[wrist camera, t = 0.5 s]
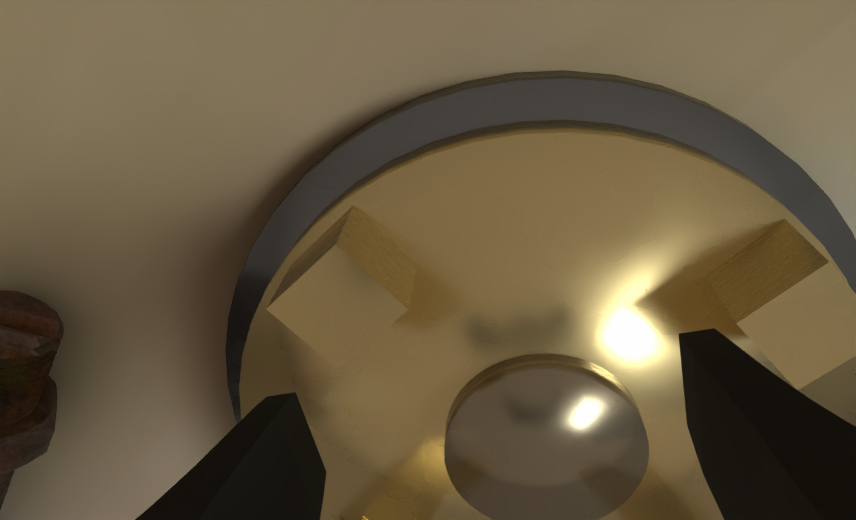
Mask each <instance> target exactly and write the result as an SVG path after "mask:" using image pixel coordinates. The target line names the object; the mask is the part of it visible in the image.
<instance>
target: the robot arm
mask: <svg viewBox="0 0 856 520" xmlns="http://www.w3.org/2000/svg"><path fill="white" fill-rule="evenodd" d="M678 335H679V346H680V356H681V367H682V377H683V388H684V398H685V409H686V419H687V426H688V429H689V433H690V436H691V439H692V442H693V445H694V448H695V451H696V454H697V457H698V460H699V463H700V466H701V469H702V472H703V475H704V477H705V479H706V482H707V484H708V486H709V488H710V490H711V492H712V495H713V497H714V499H715V501H716V503H717V505H718V507H719V510H720V512H721V514H722V516H723V518H724V520H856V426H854V425H852V424H850V423H849V422H847V421H845V420H844V419H842V418H840V417H839V416H837V415H836V414H834V413H832V412H831V411H829V410H827V409H826V408H824V407H822V406H821V405H819V404H818V403H816V402H815V401H813V400H811V399H810V398H808V397H807V396H805V395H804V394H803V393H801V392H800V391H798V390H797V389H795V388H794V387H793V386H791V385H790V384H788V383H787V382H785V381H784V380H782V379H781V378H780V377H778V376H777V375H775V374H774V373H773V372H771V371H770V370H769V369H767V368H766V367H765V366H763V365H762V364H761V363H759V362H758V361H757V360H755V359H754V358H753V357H751V356H750V355H749V354H747V353H746V352H745V351H744V350H742V349H741V348H740V347H738V346H737V345H736V344H735V343H733V342H732V341H731V340H730V339H728V338H727V337H726V336H724V335H723V334H722V333H720V332H719V331H718V330H716V329H715V328H712V329H706V330H699V331H693V332H686V333H680V334H678ZM325 481H326V469H325V467H324V464H323V462H322V459H321V456H320V454H319V451H318V449H317V446H316V443H315V441H314V438H313V436H312V433H311V430H310V428H309V425H308V423H307V420H306V418H305V415H304V412H303V410H302V407H301V405H300V402H299V399H298V397H297V394H296V392H293V393H287V394H280V395H274V396H267V397H266V398H264V399H263V400H262V401H261V402H260V403H259V404H257V405H256V406H255V407H254V408H253V409H252V410H251V411H250V412H249V413H248V414H247V415H246V416H245V417H244V418H243V419H242V420H241V421H240V422H239V423H238V424H237V425H236V426H235V427H234V428H233V429H232V430H231V431H230V432H229V433H228V434H227V435H226V436H225V437H224V438H223V439H222V440H221V441H220V442H219V443H218V444H217V445H216V446H215V447H214V448H213V449H212V450H211V451H210V452H209V453H208V454H207V455H206V456H205V457H204V458H203V459H202V460H201V461H200V462H199V463H198V464H197V465H196V466H194V467H193V468H192V469H191V470H190V471H189V472H188V473H187V474H186V475H185V476H184V477H183V478H182V479H180V480H179V481H178V482H177V483H176V484H175V485H174V486H173V487H172V488H171V489H170V490H168V491H167V492H166V493H165V494H164V495H163V496H162V497H161V498H160V499H159V500H158V501H156V502H155V503H154V504H153V505H152V506H151V507H150V508H149V509H147V510H146V511H145V512H144V513H143V514H141V515H140V516H139V517H138V518H137V519H135V520H320V516H321V510H322V503H323V497H324V489H325Z"/></svg>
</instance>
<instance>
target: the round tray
mask: <svg viewBox="0 0 856 520" xmlns="http://www.w3.org/2000/svg"><path fill="white" fill-rule="evenodd" d="M712 328H715V329H716V330H718V331H719V332H720V333H722V334H723V335H724V336H726V337H727V338H728V339H730V340H731V341H732V342H733V343H735V344H736V345H737V346H738V347H740V348H741V349H742V350H744V351H745V352H746V353H747V354H749V355H750V356H751V357H753V358H754V359H755V360H757V361H758V362H759V363H761V364H762V365H763V366H765V367H766V368H767V369H769V370H770V371H771V372H773V373H774V374H775V375H777V376H778V377H780V378H781V379H782V380H784V381H785V382H787V383H788V384H790V385H791V386H793V387H794V388H795V389H797V390H798V391H800V392H801V393H803V394H804V395H805V396H807V397H808V398H810V399H811V400H813V401H815V402H816V403H818V404H819V405H821V406H822V407H824V408H826V409H827V410H829V411H831V412H832V413H834V414H836V415H837V416H839V417H840V418H842V419H844V420H845V421H847V422H849V423H850V424H852V425H854V426H856V294H855V292H854V291H853V290H852V289H851V288H850V286H849V284H848V281H847V279H846V277H845V276H844V275H843V273H842V272H841V270H840V269H839V267H838V266H837V264H836V263H835V261H834V260H833V259H832V257H831V256H830V254H829V253H828V251H827V250H826V248H825V247H824V245H823V244H822V243H821V242H820V241H819V240H818V239H817V238H816V237H815V236H814V235H813V234H812V233H811V232H810V231H809V230H808V229H807V228H806V227H805V226H804V225H803V224H802V223H801V222H800V221H799V220H798V219H797V218H796V216H795V215H794V214H792V213H791V212H790V211H789V210H788V209H787V208H786V207H785V206H784V205H783V204H782V203H781V202H780V201H779V200H777V199H776V198H775V197H774V196H773V195H772V194H770V193H769V192H768V191H767V190H765V189H764V188H763V187H761V186H760V185H759V184H757V183H756V182H755V181H753V180H752V179H751V178H749V177H748V176H747V175H745V174H744V173H743V172H741V171H740V170H738V169H736V168H734V167H733V166H731V165H729V164H727V163H725V162H723V161H722V160H720V159H718V158H716V157H714V156H712V155H710V154H709V153H707V152H705V151H703V150H701V149H698V148H696V147H693V146H690V145H688V144H685V143H682V142H680V141H677V140H674V139H671V138H669V137H666V136H663V135H661V134H657V133H653V132H648V131H644V130H639V129H635V128H630V127H626V126H622V125H617V124H611V123H599V122H588V121H577V120H544V121H520V122H514V123H508V124H502V125H496V126H490V127H484V128H478V129H473V130H470V131H467V132H463V133H460V134H457V135H453V136H450V137H447V138H443V139H440V140H437V141H434V142H430V143H428V144H426V145H424V146H422V147H419V148H417V149H415V150H413V151H411V152H408V153H406V154H404V155H402V156H399V157H397V158H395V159H393V160H391V161H389V162H387V163H386V164H384V165H383V166H381V167H379V168H378V169H376V170H375V171H373V172H371V173H370V174H368V175H367V176H365V177H363V178H362V179H360V180H359V181H357V182H355V183H354V184H353V185H352V186H350V187H349V188H348V189H347V190H346V191H345V192H343V193H342V194H341V195H340V196H339V197H337V198H336V199H335V200H334V201H333V202H331V203H330V204H329V205H328V206H327V207H325V208H324V209H323V210H322V212H321V213H320V214H319V215H318V216H317V217H316V218H315V219H314V220H313V222H312V223H311V224H310V225H309V226H308V227H307V228H306V229H305V231H304V232H303V233H302V234H301V235H300V236H299V237H298V239H297V240H296V242H295V243H294V245H293V246H292V248H291V250H290V251H289V253H288V254H287V256H286V257H285V259H284V260H283V262H282V263H281V265H280V266H279V268H278V270H277V271H276V273H275V275H274V276H273V278H272V280H271V281H270V283H269V285H268V287H267V288H266V290H265V292H264V295H263V297H262V299H261V301H260V303H259V306H258V308H257V310H256V312H255V315H254V317H253V319H252V321H251V325H250V328H249V332H248V336H247V340H246V343H245V347H244V351H243V354H242V364H241V374H240V384H239V392H240V408H241V420H242V419H243V418H244V417H245V416H246V415H247V414H248V413H249V412H250V411H251V410H252V409H253V408H254V407H255V406H256V405H257V404H259V403H260V402H261V401H262V400H263V399H264V398H266V397H267V396H274V395H280V394H287V393H293V392H296V394H297V397H298V399H299V402H300V405H301V407H302V410H303V412H304V415H305V418H306V420H307V423H308V425H309V428H310V430H311V433H312V436H313V438H314V441H315V443H316V446H317V449H318V451H319V454H320V456H321V459H322V462H323V464H324V467H325V469H326V481H325V489H324V497H323V503H322V510H321V516H320V520H724V518H723V516H722V514H721V512H720V510H719V507H718V505H717V503H716V501H715V499H714V497H713V495H712V492H711V490H710V488H709V486H708V484H707V482H706V479H705V477H704V475H703V472H702V469H701V466H700V463H699V460H698V457H697V454H696V451H695V448H694V445H693V442H692V439H691V436H690V433H689V429H688V426H687V419H686V409H685V398H684V388H683V377H682V367H681V356H680V346H679V335H678V334H680V333H686V332H693V331H699V330H706V329H712Z"/></svg>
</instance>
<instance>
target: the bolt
mask: <svg viewBox="0 0 856 520" xmlns="http://www.w3.org/2000/svg"><path fill="white" fill-rule="evenodd" d="M63 331H64V329H63V324H62V322H61V320H60V318H59V316H58V314H57V313H56V312H55V311H54V310H53V309H51V308H50V307H48V306H47V305H46V304H44V303H43V302H41V301H39V300H37V299H35V298H33V297H31V296H28V295H26V294H22V293H18V292H11V291H0V510H1V506H2V504H3V501H4V498H5V495H6V493H7V489H8V487H9V484H10V481H11V478H12V475H13V473H14V469H17V468H19V467H21V466H23V465H25V464H27V463H29V462H30V461H32V460H34V459H35V458H37V457H39V456H40V455H42V454H44V453H45V452H47V449H48V446H49V444H50V441H51V438H52V436H53V433H54V430H55V421H56V410H57V390H56V384H55V382H54V381H53V380H52V379H51V378H50V377H49V376H48V374H49V371H50V368H51V366H52V362H53V360H54V358H55V354H56V353H57V349H58V347H59V345H60V341H61V339H62V337H63Z"/></svg>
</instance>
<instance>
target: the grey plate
mask: <svg viewBox="0 0 856 520" xmlns="http://www.w3.org/2000/svg"><path fill="white" fill-rule="evenodd" d="M544 120H577V121H588V122H599V123H611V124H617V125H622V126H626V127H630V128H635V129H639V130H644V131H648V132H653V133H657V134H661V135H663V136H666V137H669V138H671V139H674V140H677V141H680V142H682V143H685V144H688V145H690V146H693V147H696V148H698V149H701V150H703V151H705V152H707V153H709V154H710V155H712V156H714V157H716V158H718V159H720V160H722V161H723V162H725V163H727V164H729V165H731V166H733V167H734V168H736V169H738V170H740V171H741V172H743V173H744V174H745V175H747V176H748V177H749V178H751V179H752V180H753V181H755V182H756V183H757V184H759V185H760V186H761V187H763V188H764V189H765V190H767V191H768V192H769V193H770V194H772V195H773V196H774V197H775V198H776V199H777V200H779V201H780V202H781V203H782V204H783V205H784V206H785V207H786V208H787V209H788V210H789V211H790V212H791V213H792V214H794V215H795V216H796V218H797V219H798V220H799V221H800V222H801V223H802V224H803V225H804V226H805V227H806V228H807V229H808V230H809V231H810V232H811V233H812V234H813V235H814V236H815V237H816V238H817V239H818V240H819V241H820V242H821V243H822V244H823V245H824V247H825V248H826V250H827V251H828V253H829V254H830V256H831V257H832V259H833V260H834V261H835V263H836V264H837V266H838V267H839V269H840V270H841V272H842V273H843V275H844V276H845V277H846V279H847V281H848V284H849V286H850V288H851V289H852V290H853V291H854V292H855V294H856V240H855V237H854V235H853V233H852V231H851V230H850V228H849V227H848V225H847V224H846V222H845V221H844V219H843V218H842V216H841V215H840V213H839V212H838V210H837V209H836V207H835V206H834V204H833V203H832V201H831V200H830V198H829V197H828V196H827V195H826V194H825V193H824V191H823V190H822V189H821V188H820V187H819V186H818V185H817V184H816V183H815V182H814V181H813V180H812V179H811V178H810V177H809V175H808V174H807V173H806V172H805V171H804V170H803V169H802V168H801V167H800V166H799V165H798V164H797V163H795V162H794V161H793V160H792V159H790V158H789V157H788V156H786V155H785V154H784V153H783V152H781V151H780V150H779V149H777V148H776V147H775V146H773V145H772V144H771V143H770V142H768V141H767V140H766V139H764V138H763V137H762V136H760V135H759V134H758V133H757V132H755V131H754V130H753V129H751V128H750V127H749V126H747V125H746V124H744V123H742V122H740V121H739V120H737V119H735V118H733V117H731V116H730V115H728V114H726V113H724V112H722V111H721V110H719V109H717V108H715V107H713V106H712V105H710V104H708V103H706V102H704V101H701V100H698V99H696V98H693V97H690V96H688V95H685V94H682V93H680V92H677V91H675V90H672V89H669V88H667V87H664V86H661V85H657V84H652V83H648V82H643V81H639V80H635V79H630V78H626V77H621V76H617V75H610V74H599V73H587V72H576V71H543V72H522V73H511V74H505V75H500V76H494V77H489V78H483V79H478V80H472V81H467V82H463V83H460V84H457V85H454V86H451V87H448V88H445V89H441V90H438V91H435V92H432V93H429V94H426V95H423V96H420V97H418V98H416V99H414V100H412V101H409V102H407V103H405V104H403V105H401V106H399V107H397V108H395V109H393V110H390V111H388V112H386V113H384V114H382V115H380V116H378V117H377V118H375V119H374V120H372V121H370V122H369V123H367V124H366V125H364V126H363V127H361V128H360V129H358V130H357V131H355V132H354V133H352V134H351V135H349V136H347V137H346V138H344V139H343V140H342V141H340V142H339V143H338V144H337V145H336V146H335V147H333V148H332V149H331V150H330V151H329V152H328V153H327V154H325V155H324V156H323V157H322V158H321V159H320V160H319V161H317V162H316V163H315V164H314V165H313V166H312V167H311V168H310V169H309V170H308V171H307V172H306V173H305V174H304V176H303V177H302V178H301V179H300V180H299V181H298V183H297V184H296V185H295V186H294V187H293V189H292V190H291V191H290V192H289V193H288V194H287V196H286V197H285V198H284V199H283V200H282V202H281V203H280V205H279V206H278V207H277V209H276V210H275V212H274V213H273V215H272V216H271V218H270V219H269V221H268V223H267V224H266V226H265V227H264V229H263V231H262V232H261V234H260V235H259V237H258V239H257V240H256V242H255V243H254V245H253V247H252V249H251V251H250V253H249V256H248V258H247V260H246V263H245V265H244V268H243V270H242V272H241V275H240V277H239V279H238V282H237V285H236V289H235V293H234V297H233V301H232V306H231V310H230V314H229V319H228V330H227V342H226V363H227V377H228V387H229V392H230V396H231V400H232V405H233V409H234V414H235V418H236V420H237V423H239V422H240V421H241V408H240V392H239V384H240V374H241V364H242V354H243V351H244V347H245V343H246V340H247V336H248V332H249V328H250V325H251V321H252V319H253V317H254V315H255V312H256V310H257V308H258V306H259V303H260V301H261V299H262V297H263V295H264V292H265V290H266V288H267V287H268V285H269V283H270V281H271V280H272V278H273V276H274V275H275V273H276V271H277V270H278V268H279V266H280V265H281V263H282V262H283V260H284V259H285V257H286V256H287V254H288V253H289V251H290V250H291V248H292V246H293V245H294V243H295V242H296V240H297V239H298V237H299V236H300V235H301V234H302V233H303V232H304V231H305V229H306V228H307V227H308V226H309V225H310V224H311V223H312V222H313V220H314V219H315V218H316V217H317V216H318V215H319V214H320V213H321V212H322V210H323V209H324V208H325V207H327V206H328V205H329V204H330V203H331V202H333V201H334V200H335V199H336V198H337V197H339V196H340V195H341V194H342V193H343V192H345V191H346V190H347V189H348V188H349V187H350V186H352V185H353V184H354V183H355V182H357V181H359V180H360V179H362V178H363V177H365V176H367V175H368V174H370V173H371V172H373V171H375V170H376V169H378V168H379V167H381V166H383V165H384V164H386V163H387V162H389V161H391V160H393V159H395V158H397V157H399V156H402V155H404V154H406V153H408V152H411V151H413V150H415V149H417V148H419V147H422V146H424V145H426V144H428V143H430V142H434V141H437V140H440V139H443V138H447V137H450V136H453V135H457V134H460V133H463V132H467V131H470V130H473V129H478V128H484V127H490V126H496V125H502V124H508V123H514V122H520V121H544Z"/></svg>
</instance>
